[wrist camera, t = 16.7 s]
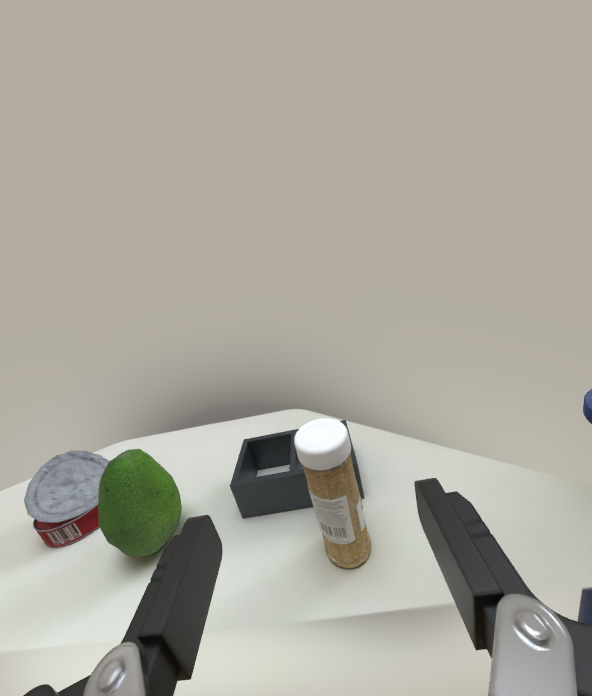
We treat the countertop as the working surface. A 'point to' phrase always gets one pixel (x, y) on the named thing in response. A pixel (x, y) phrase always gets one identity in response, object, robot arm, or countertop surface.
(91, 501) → the canned food
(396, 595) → the countertop surface
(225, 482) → the countertop surface
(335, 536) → the sprinkles bottle
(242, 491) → the divided storage box
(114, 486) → the avocado
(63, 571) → the countertop surface
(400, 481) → the countertop surface
